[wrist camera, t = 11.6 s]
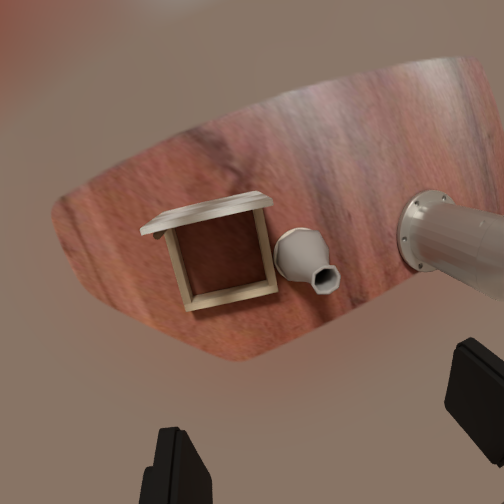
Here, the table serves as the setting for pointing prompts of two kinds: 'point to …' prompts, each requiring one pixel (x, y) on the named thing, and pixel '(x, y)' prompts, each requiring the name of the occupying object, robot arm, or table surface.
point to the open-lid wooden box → (206, 211)
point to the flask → (307, 260)
